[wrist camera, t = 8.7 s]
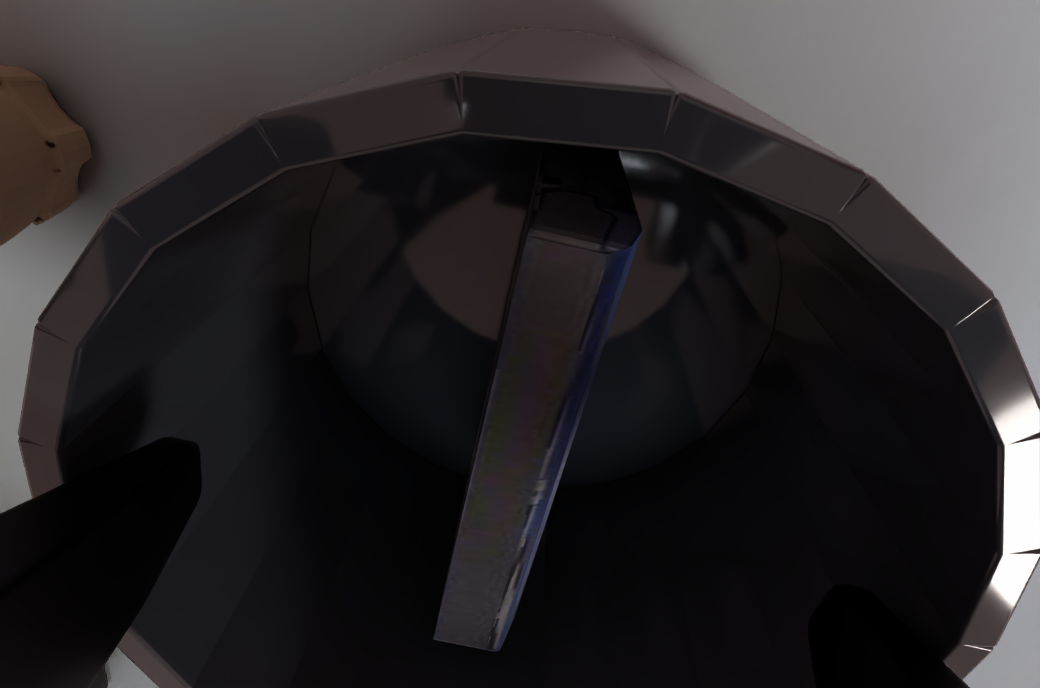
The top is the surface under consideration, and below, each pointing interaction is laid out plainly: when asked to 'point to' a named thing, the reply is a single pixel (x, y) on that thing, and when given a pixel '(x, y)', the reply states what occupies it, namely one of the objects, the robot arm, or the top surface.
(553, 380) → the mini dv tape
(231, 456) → the pen holder
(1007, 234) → the top surface
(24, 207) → the handle
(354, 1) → the top surface
